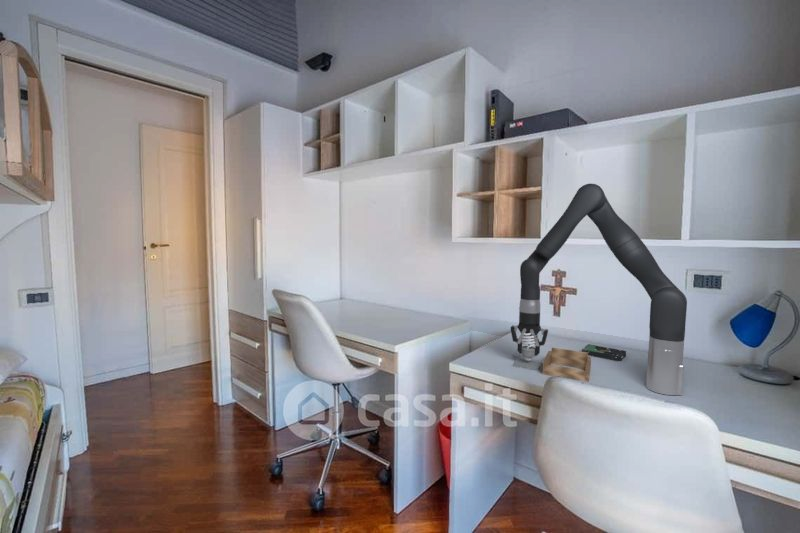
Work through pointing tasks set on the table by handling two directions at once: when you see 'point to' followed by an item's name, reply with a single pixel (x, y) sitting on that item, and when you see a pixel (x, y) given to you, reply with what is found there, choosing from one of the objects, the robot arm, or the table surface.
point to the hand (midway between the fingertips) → (528, 353)
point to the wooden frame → (567, 364)
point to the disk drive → (604, 352)
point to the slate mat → (527, 364)
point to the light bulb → (528, 347)
